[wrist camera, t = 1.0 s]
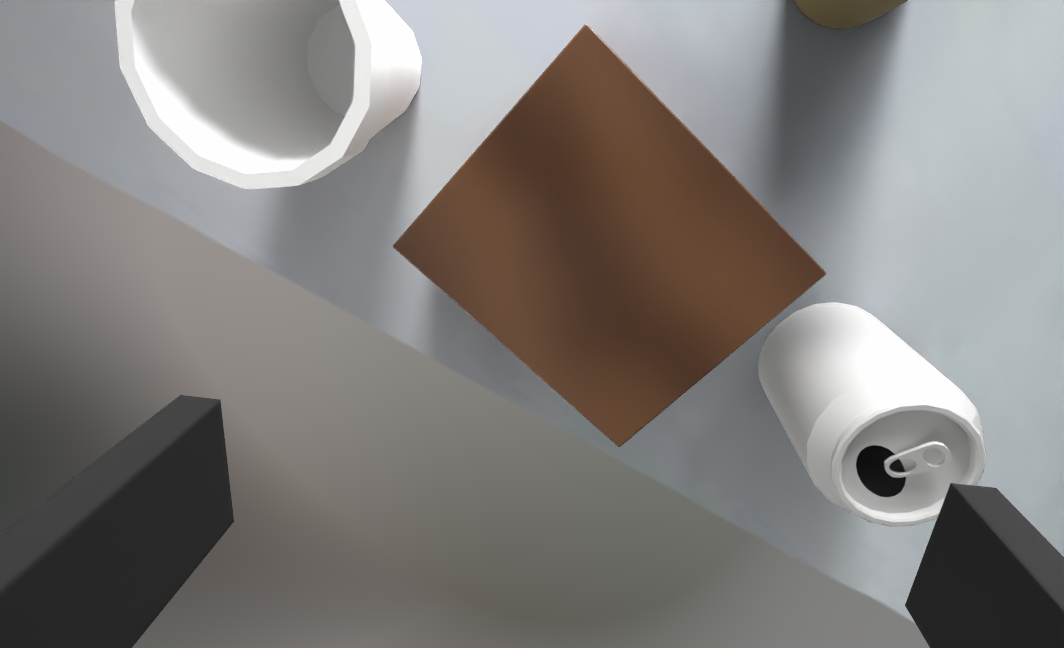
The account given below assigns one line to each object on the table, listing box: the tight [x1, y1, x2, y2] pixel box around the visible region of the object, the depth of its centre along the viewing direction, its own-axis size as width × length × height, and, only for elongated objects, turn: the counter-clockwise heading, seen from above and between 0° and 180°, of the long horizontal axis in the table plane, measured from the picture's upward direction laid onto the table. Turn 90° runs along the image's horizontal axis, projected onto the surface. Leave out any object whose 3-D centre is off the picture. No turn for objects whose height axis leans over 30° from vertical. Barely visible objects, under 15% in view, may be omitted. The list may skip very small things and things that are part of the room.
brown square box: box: [393, 24, 826, 447], centre depth 32 cm, size 12×14×10 cm
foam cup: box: [114, 0, 422, 190], centre depth 29 cm, size 10×9×13 cm
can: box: [758, 302, 986, 526], centre depth 33 cm, size 8×8×12 cm
